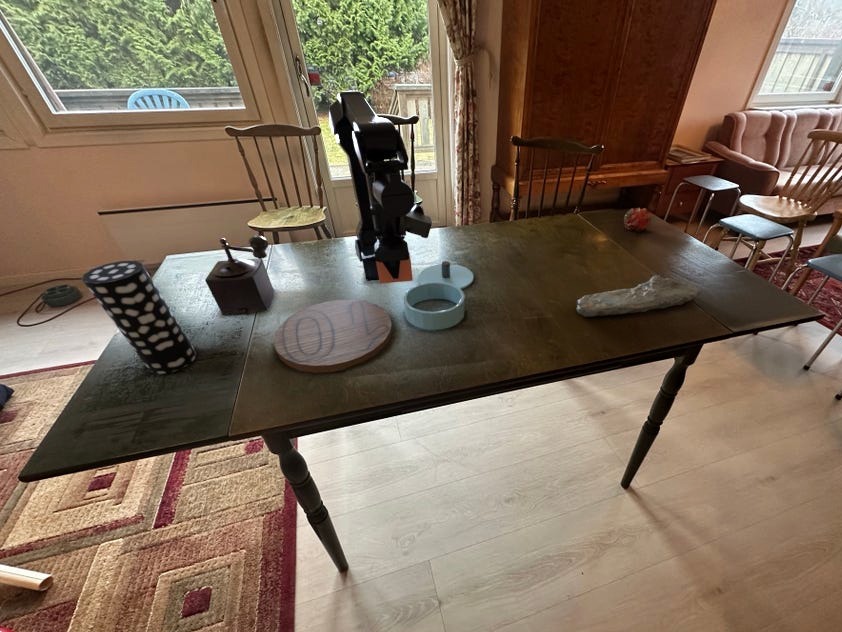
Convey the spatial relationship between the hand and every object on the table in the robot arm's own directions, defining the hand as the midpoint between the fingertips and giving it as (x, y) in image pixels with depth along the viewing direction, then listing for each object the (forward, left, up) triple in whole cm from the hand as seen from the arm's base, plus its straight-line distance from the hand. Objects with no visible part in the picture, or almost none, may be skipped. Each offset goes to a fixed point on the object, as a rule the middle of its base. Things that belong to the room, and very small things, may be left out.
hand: (395, 273), depth 81 cm
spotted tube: (-47, -6, -13) cm, 49 cm away
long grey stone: (+61, -3, -13) cm, 62 cm away
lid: (+13, +19, -12) cm, 26 cm away
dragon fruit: (+87, +46, -13) cm, 99 cm away
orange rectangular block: (0, 0, -1) cm, 1 cm away
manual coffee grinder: (-35, +15, -13) cm, 40 cm away
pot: (+8, +2, -12) cm, 15 cm away
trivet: (-15, -3, -13) cm, 20 cm away
